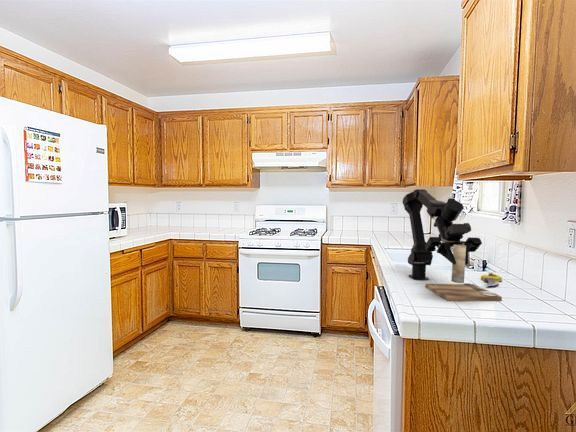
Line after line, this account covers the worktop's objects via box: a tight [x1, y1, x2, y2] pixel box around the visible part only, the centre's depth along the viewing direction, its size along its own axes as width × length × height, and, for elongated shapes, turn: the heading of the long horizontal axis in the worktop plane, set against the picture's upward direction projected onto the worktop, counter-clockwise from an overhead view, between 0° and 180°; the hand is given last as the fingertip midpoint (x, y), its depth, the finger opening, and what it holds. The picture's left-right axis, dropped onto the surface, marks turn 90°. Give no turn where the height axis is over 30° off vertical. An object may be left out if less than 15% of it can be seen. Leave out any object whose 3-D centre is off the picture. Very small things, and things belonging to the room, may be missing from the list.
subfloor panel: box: [424, 282, 503, 302], centre depth 129 cm, size 17×20×2 cm
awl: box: [451, 244, 466, 284], centre depth 120 cm, size 4×4×13 cm
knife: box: [480, 272, 503, 287], centre depth 147 cm, size 8×3×25 cm
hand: (460, 264), depth 119 cm, fingers closed on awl, 4 cm apart
